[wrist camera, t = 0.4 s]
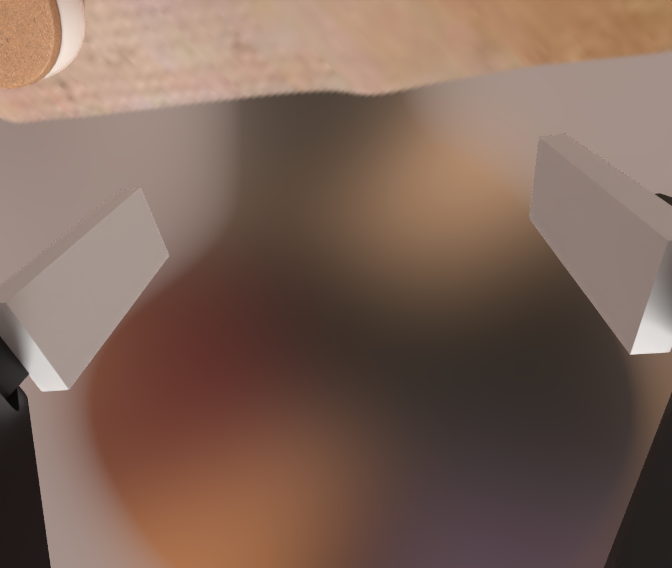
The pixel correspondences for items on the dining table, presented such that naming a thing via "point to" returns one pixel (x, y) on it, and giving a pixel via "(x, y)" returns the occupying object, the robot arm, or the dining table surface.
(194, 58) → the dining table surface
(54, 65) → the lidded jar
